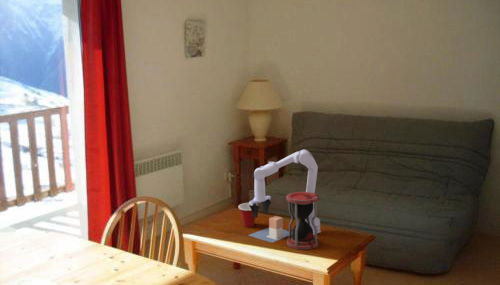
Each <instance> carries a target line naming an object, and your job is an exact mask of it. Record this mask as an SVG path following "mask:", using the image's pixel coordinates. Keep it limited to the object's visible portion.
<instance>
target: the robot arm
mask: <svg viewBox="0 0 500 285" xmlns="http://www.w3.org/2000/svg"><path fill="white" fill-rule="evenodd" d="M292 163H295V164H299V163H300V164H301V165H303V166H305V167H306V168H307V170H308V171H307V178H306V179H307V181H306V188H305V189H306V190H305V192H311V193H315V192H316V184H317V178H318V169H319V166H318V164H317V162H316V160H315V158H314V157H313V155H312V153H311V152H310V151H308V149H305V148H304V149H301V150H299V151H296V152H294V153H291V154H289V155H287V156H286V157H284V158H281V159H280V160H279V161H271V160H270V161H268V163H267V164H265V165H261V166H260V167H257V168H256V169H255V170H254V172H253V177H254V186H253V188H254V197H253V199H252V200H249V202H248V203H249V206H250V208H251V210H252V212H253V216H254V217H255V219H257V218H258V213H259V207H260V205H258V204H260V203H261V205H262V214H265V215H268V212H269V207H270V206H271V203H272V201H271V200H272V199H271V198H272V197H271V196H270V195H266V181H265V178H266V177H269V176H271V175H273V174H275V173H277V172H278V171H279V169H280V168H282V167H284V166H287V165H289V164H292ZM315 194H316V193H315ZM256 204H257V205H256ZM314 215H315V202H314V203H313V211H312V213H311V214H310V215H309V221H310V226H311V227H312V229H313V236H315V229H314V227H313V226H312V223H311V221H312V218H313V217H314ZM305 221H306V222H307V220H306V219H305ZM307 223H308V222H307ZM314 224H315V226H316V228H317V234H319V233H321V232H322V230H321V220H320V218H318V217H317V216H316V218H315V219H314Z"/></svg>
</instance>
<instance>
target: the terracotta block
mask: <svg viewBox="0 0 500 285" xmlns="http://www.w3.org/2000/svg"><path fill="white" fill-rule="evenodd" d="M283 219H284V218H283V217H281V216H279V215H274V216H271V217H269V219H268V220H269V221H268V228H269V227H270V228H273V229H279V228H282V227H283V228H284V224H283V223H284V220H283Z"/></svg>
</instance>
